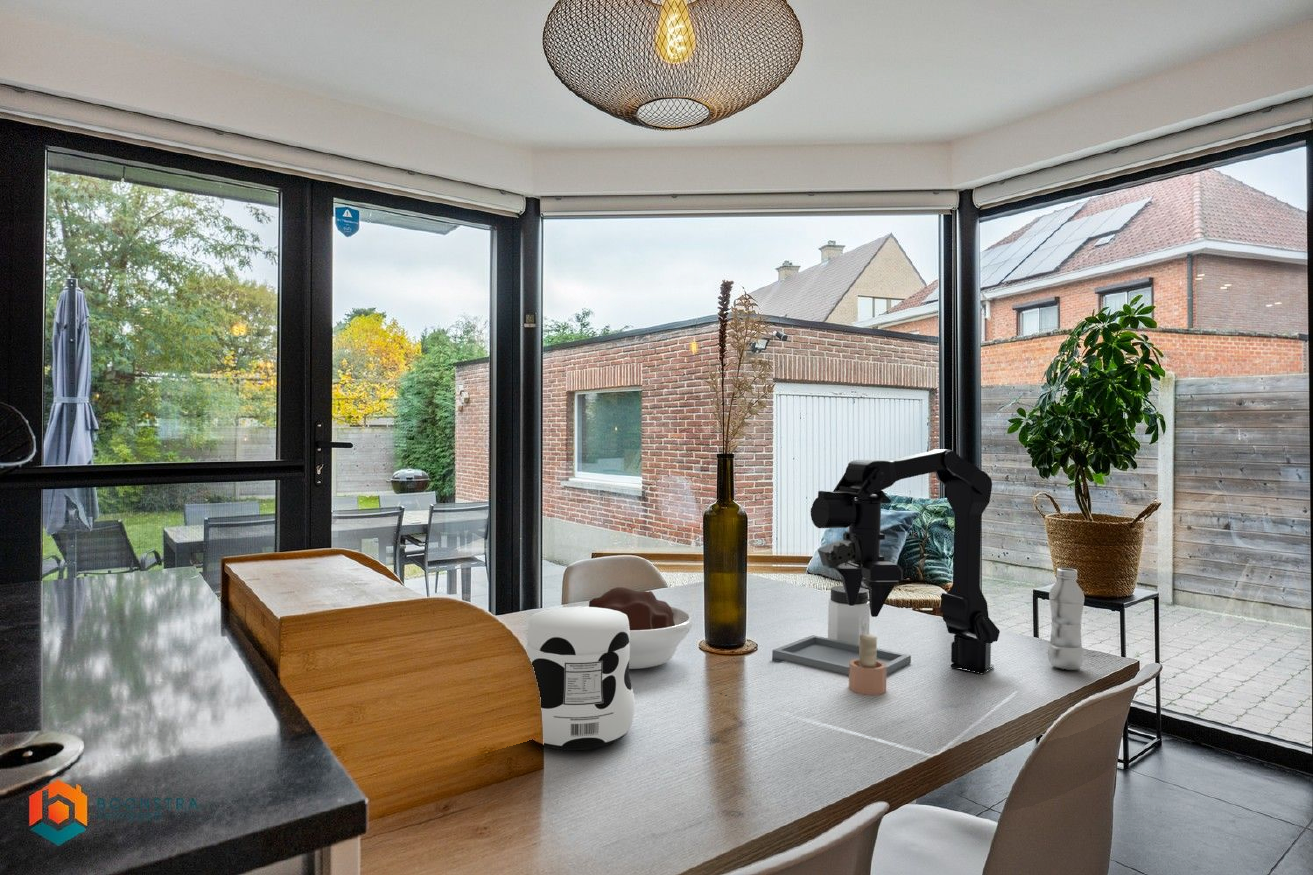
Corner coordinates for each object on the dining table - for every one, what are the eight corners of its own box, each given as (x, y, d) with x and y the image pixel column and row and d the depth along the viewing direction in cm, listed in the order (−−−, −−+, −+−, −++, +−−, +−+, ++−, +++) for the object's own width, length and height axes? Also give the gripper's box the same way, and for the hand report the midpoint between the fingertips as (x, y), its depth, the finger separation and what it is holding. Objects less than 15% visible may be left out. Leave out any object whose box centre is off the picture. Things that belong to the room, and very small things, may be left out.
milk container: (577, 707, 129) (578, 600, 129) (657, 734, 118) (659, 617, 118) (494, 738, 116) (496, 618, 115) (576, 771, 105) (578, 639, 104)
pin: (878, 688, 139) (879, 636, 139) (871, 692, 137) (872, 639, 137) (863, 684, 141) (864, 633, 141) (855, 688, 139) (856, 636, 139)
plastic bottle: (1047, 670, 154) (1048, 570, 154) (1047, 661, 160) (1049, 565, 160) (1084, 675, 151) (1085, 573, 151) (1083, 666, 157) (1085, 568, 157)
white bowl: (658, 641, 171) (659, 573, 171) (714, 673, 149) (715, 595, 149) (550, 653, 161) (551, 580, 161) (592, 689, 138) (593, 605, 138)
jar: (853, 650, 166) (854, 594, 166) (821, 642, 172) (822, 588, 172) (875, 642, 172) (876, 589, 172) (843, 635, 178) (844, 583, 178)
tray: (910, 665, 156) (910, 655, 156) (874, 684, 143) (875, 673, 143) (812, 644, 171) (812, 635, 171) (772, 659, 158) (772, 649, 158)
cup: (891, 691, 140) (892, 663, 140) (876, 699, 135) (876, 671, 135) (858, 683, 144) (859, 656, 144) (842, 691, 139) (843, 663, 139)
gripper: (804, 521, 151) (802, 600, 151) (846, 533, 133) (844, 623, 133) (857, 521, 154) (855, 600, 154) (905, 533, 135) (903, 622, 135)
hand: (862, 610), depth 144 cm, fingers open, 9 cm apart
